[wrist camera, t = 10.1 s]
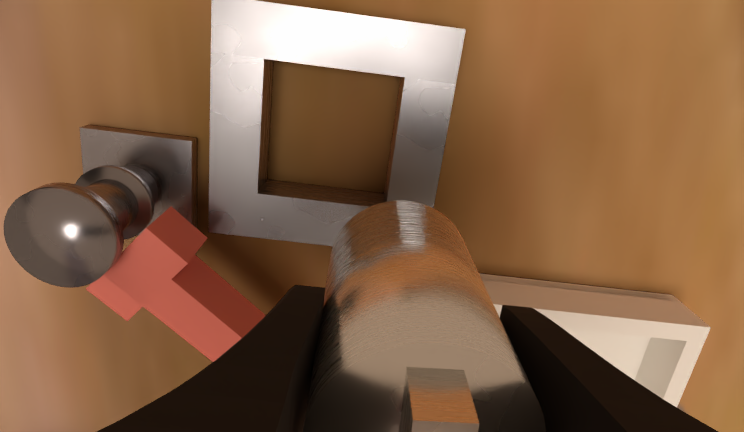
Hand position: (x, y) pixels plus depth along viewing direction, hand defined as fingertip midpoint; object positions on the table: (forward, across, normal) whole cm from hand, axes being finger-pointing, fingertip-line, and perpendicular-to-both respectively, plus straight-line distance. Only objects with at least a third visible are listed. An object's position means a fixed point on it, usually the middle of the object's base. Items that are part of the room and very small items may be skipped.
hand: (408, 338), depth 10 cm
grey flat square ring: (+10, +2, -2) cm, 10 cm away
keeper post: (+10, +10, +1) cm, 14 cm away
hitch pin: (+3, 0, 0) cm, 3 cm away
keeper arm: (+7, +4, +6) cm, 10 cm away
